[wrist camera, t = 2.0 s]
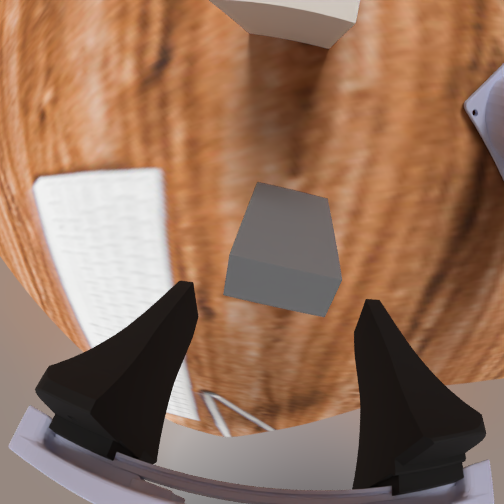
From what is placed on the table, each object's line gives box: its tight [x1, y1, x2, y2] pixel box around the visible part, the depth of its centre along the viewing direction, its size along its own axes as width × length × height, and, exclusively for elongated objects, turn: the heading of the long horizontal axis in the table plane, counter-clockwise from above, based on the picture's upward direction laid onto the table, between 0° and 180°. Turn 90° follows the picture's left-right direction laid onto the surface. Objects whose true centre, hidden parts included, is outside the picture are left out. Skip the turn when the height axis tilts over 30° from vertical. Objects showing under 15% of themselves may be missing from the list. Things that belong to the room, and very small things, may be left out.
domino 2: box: [223, 182, 342, 317], centre depth 17 cm, size 2×5×9 cm, turn 80°
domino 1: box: [209, 0, 360, 49], centre depth 10 cm, size 2×5×9 cm, turn 80°
